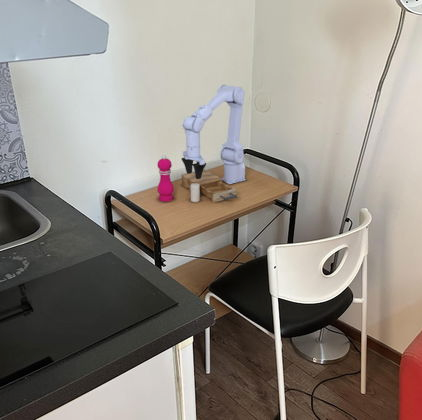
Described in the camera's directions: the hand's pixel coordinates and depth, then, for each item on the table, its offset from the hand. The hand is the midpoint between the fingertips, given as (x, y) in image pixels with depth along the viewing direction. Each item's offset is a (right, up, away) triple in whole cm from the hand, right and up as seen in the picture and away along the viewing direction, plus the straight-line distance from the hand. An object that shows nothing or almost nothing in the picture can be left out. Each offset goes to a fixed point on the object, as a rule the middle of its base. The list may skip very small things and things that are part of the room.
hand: (193, 175), depth 191 cm
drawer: (+11, -8, +2) cm, 14 cm away
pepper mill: (-12, -10, +3) cm, 16 cm away
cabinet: (+4, -4, +14) cm, 15 cm away
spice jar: (+1, -10, +1) cm, 10 cm away
